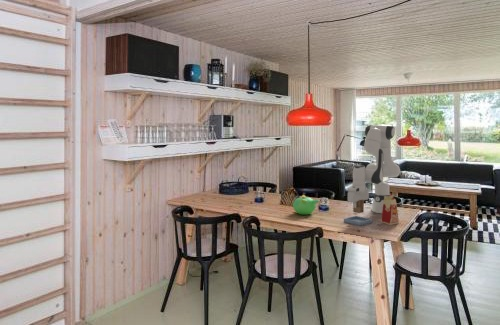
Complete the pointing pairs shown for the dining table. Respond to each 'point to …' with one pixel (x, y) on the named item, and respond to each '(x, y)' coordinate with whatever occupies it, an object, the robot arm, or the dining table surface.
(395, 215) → the milk carton
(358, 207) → the walnut block
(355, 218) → the slate tray
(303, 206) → the green teapot
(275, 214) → the dining table surface
